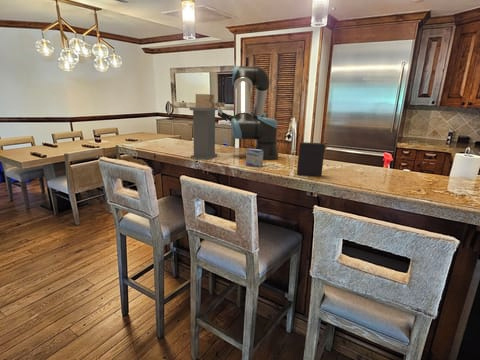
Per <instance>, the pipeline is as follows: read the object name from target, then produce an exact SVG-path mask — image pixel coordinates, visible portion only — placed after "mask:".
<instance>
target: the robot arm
mask: <svg viewBox="0 0 480 360" xmlns="http://www.w3.org/2000/svg"><path fill="white" fill-rule="evenodd" d="M270 83H271V81H270V77H269V75H268V73H267V72H266V71H265V69H263V68H262V67H260V66H246V65H245V66H244V65H236V66H234V68H233V70H232V77H231V84H232V86H234V88H235V89H236V93H235V94H236V96H235V97H236V106H235V110H236V112H235V115H232V114H227V113H226V112H224V111H223V109H222V107H217V108H218V110H217V116H218V117H219V118H222V119H223V120H225V122H228V121H229V122H230V126H231V135H232V138H234V139H235V140H256V141H255V142H256V144H255V147H254V149H260V150H264V152H263V161H264V160H265V161H266V160H268V161H270V160H277V159H279V152H278V148H277V136H278V121H277V120H276V119H275V118H271V117H266V113H265V112H264V111H265V106H266V99H267V93H268V90H269V88H270ZM252 87H254V88H255V94H254V95H255V96H254V106H253V112H251V89H252Z"/></svg>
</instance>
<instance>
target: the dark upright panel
mask: <svg viewBox="0 0 480 360" xmlns="http://www.w3.org/2000/svg"><path fill="white" fill-rule="evenodd" d="M325 149H326V144H325V143H322V142H303V141H301V142H299V145H298V157H297V167H296V168H297V170H296V174H297V175H298V176H303V177H307V176H308V177H322V175H323V166H324V157H325Z"/></svg>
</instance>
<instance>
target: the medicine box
mask: <svg viewBox="0 0 480 360" xmlns="http://www.w3.org/2000/svg"><path fill="white" fill-rule="evenodd" d="M263 152H264V150H260V149H255V148H246V154H245V155H246V156H245V157H246V158H245V166H246V167H247V166H248V167H255V168H261V167H263V164H264V159H263Z"/></svg>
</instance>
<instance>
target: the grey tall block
mask: <svg viewBox="0 0 480 360" xmlns="http://www.w3.org/2000/svg"><path fill="white" fill-rule="evenodd" d="M189 111H192V120H193V122H192V123H193V124H192V125H193V126H192V127H193V129H192V130H193V131H192V134H193V154H192V155H191V156H190V158H191V159H197V160H199V159H200V160H204V161H205V160H207V161H208V160H212V159H214V158H216V157H218V153H216V111H218V107H214V108H202V107H196V106H193V107H192V106H191V107H189Z"/></svg>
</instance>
